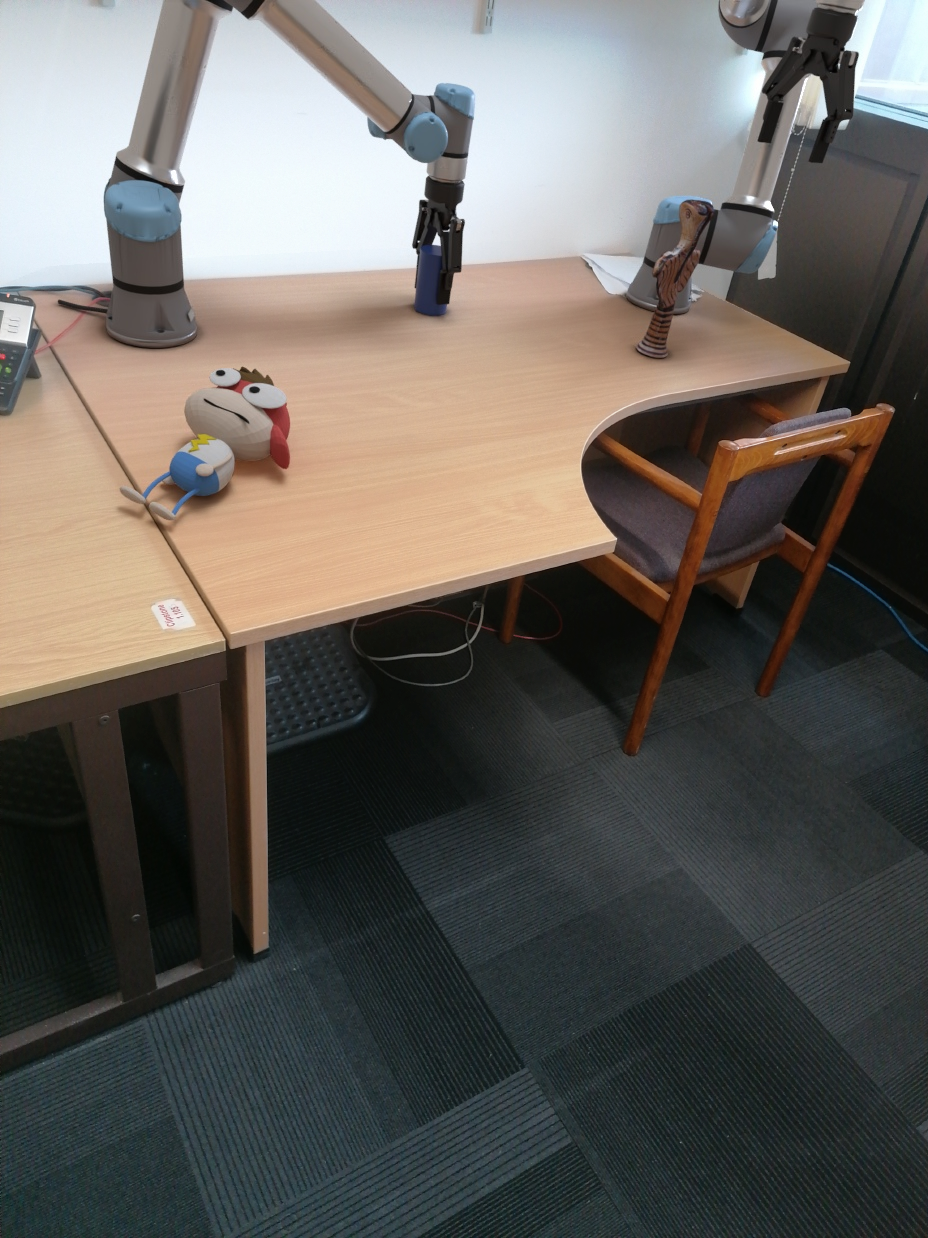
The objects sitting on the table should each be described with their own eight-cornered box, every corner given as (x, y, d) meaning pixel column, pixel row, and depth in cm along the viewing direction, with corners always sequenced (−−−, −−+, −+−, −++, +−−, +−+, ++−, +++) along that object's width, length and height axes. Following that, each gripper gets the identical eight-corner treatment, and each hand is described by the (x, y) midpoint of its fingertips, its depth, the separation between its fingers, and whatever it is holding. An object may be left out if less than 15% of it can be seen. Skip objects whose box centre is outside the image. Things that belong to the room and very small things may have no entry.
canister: (412, 312, 183) (418, 252, 176) (415, 301, 189) (422, 242, 181) (444, 317, 184) (452, 257, 176) (447, 306, 189) (454, 247, 181)
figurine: (653, 337, 192) (695, 188, 173) (684, 349, 189) (731, 199, 170) (621, 353, 182) (662, 197, 163) (654, 366, 179) (700, 209, 160)
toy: (74, 438, 111) (231, 346, 131) (86, 500, 119) (233, 404, 138) (190, 502, 107) (335, 397, 127) (195, 561, 114) (330, 454, 134)
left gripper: (491, 193, 166) (473, 313, 180) (434, 162, 179) (422, 276, 193) (457, 194, 162) (442, 316, 176) (402, 162, 175) (391, 278, 189)
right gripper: (769, -5, 152) (728, 133, 165) (877, 19, 135) (822, 170, 148) (801, 0, 155) (759, 135, 168) (910, 24, 138) (854, 171, 152)
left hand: (431, 295), depth 184 cm, fingers open, 8 cm apart
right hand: (788, 151), depth 158 cm, fingers open, 13 cm apart
